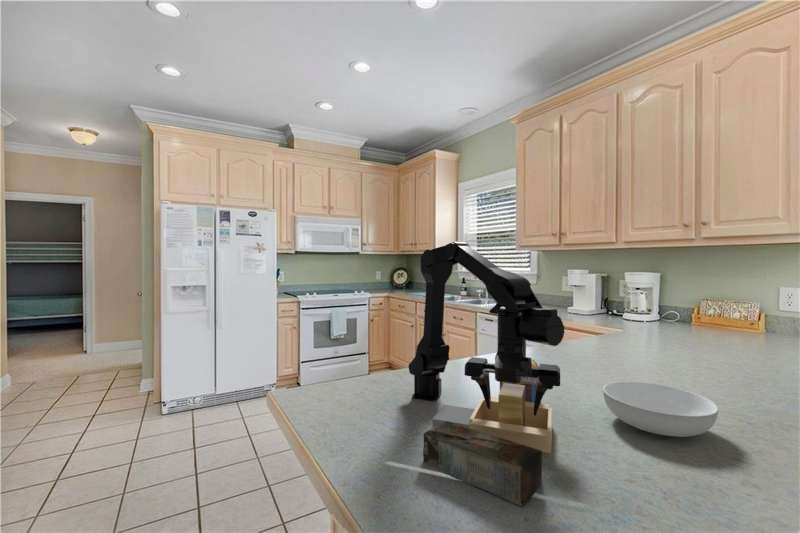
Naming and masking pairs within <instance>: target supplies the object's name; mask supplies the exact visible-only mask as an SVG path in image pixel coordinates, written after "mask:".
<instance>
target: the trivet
mask: <svg viewBox="0 0 800 533" xmlns="http://www.w3.org/2000/svg"><path fill="white" fill-rule="evenodd" d="M474 410H475V408H471V407H470V408H469V407H465V406H457V405H449V404H443V405H442V406H441V408H440V409H439V410H438V411H437V413H436V414H435V415H434V416H433V417H432V427H436V426H438V425H440V424H442V423H443V422H446V421H449V422H451V423H455V424H457V425H460V426H463V427H467V428H470V417H471V416H472V414H473V412H474Z"/></svg>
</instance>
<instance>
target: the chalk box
mask: <svg viewBox="0 0 800 533" xmlns="http://www.w3.org/2000/svg"><path fill="white" fill-rule="evenodd" d="M539 366H540V365H538V363H537V362H536V360H535V359H532V368H539ZM503 383H509V384H514V383H512V382H504V381H503V382H499V391H500V390H501V388H502V386H503ZM537 383H538V378H534V377H521V382H520V383H518V384H517V385H525V402H533V403H535V397H536V390H537ZM540 404H542V401H541V402H540Z"/></svg>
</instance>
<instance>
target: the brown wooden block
mask: <svg viewBox="0 0 800 533" xmlns="http://www.w3.org/2000/svg"><path fill="white" fill-rule="evenodd" d="M498 398H499V422H500V423H506V424H513V425H519V426H525V385H517V384H509V383H503V386H502V388H501V390H500V389H499V393H498Z"/></svg>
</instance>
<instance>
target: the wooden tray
mask: <svg viewBox="0 0 800 533" xmlns="http://www.w3.org/2000/svg"><path fill="white" fill-rule="evenodd" d="M549 406H550V405H549V404H548V403H547V404H546V403H541V404H540V405H539V408H538V411H537V414H536V416H534V403H533V402H525V426H519V425H513V424H506V423H500V422H499V397H496V396H495V397H494V396H491V407H490V409H488V408H487V405H486V402H485V399H484V398H480V399H479V401H478V403H477V405H476V406H475V408H474V409H475V410H474V412H473V414H472V416H471V417H470V429H473V430H476V431H479V432H482V433H486V434H489V435H492V436H495V437H499V438H502V439H505V440H509V441H512V442H515V443H518V444H522V445H525V446H529V447H532V448H534V449H537V450H541V452H542V453H546V454H552V437H553V435H552V434H553V408H552V407H549Z"/></svg>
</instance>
